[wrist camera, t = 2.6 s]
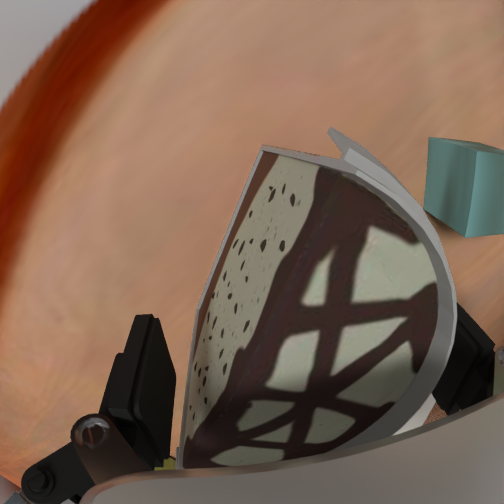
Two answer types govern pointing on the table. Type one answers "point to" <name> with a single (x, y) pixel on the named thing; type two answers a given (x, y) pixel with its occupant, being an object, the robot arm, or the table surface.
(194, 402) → the food container
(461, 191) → the teal block
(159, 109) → the table surface
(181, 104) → the table surface
